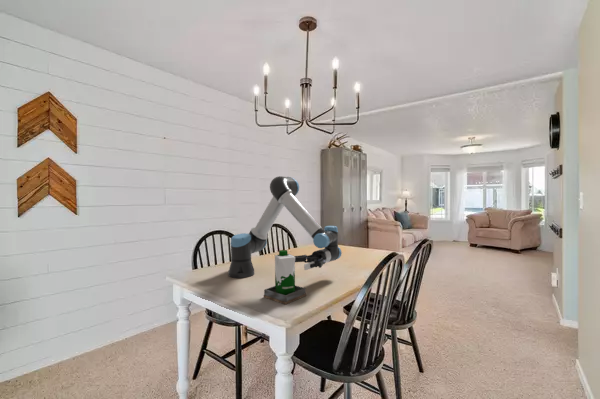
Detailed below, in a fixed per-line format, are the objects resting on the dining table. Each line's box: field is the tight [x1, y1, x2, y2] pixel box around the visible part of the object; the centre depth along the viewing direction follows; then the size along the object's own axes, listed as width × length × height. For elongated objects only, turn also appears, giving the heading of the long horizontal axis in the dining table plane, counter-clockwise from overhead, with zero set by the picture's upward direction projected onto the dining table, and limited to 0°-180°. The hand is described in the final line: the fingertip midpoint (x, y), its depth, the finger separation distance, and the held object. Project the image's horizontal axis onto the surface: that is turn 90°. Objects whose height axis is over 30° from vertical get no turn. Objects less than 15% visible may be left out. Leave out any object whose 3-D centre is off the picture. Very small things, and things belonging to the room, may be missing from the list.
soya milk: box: [274, 249, 296, 295], centre depth 137 cm, size 9×9×20 cm
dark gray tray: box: [263, 285, 307, 305], centre depth 138 cm, size 14×14×4 cm
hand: (294, 264), depth 142 cm, fingers open, 13 cm apart
